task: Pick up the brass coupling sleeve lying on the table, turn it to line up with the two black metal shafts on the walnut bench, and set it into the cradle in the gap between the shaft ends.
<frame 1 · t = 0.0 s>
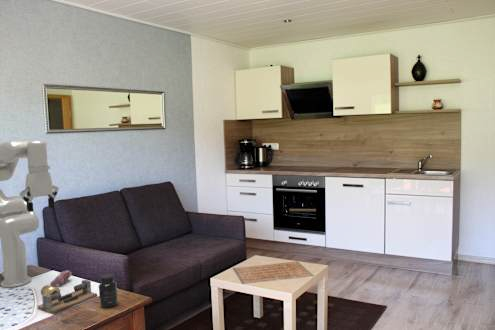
hand: (41, 209, 188), 37 cm above the table, tool pointing down, fingers open, 9 cm apart
coupling sleeve: (50, 298, 185), on the table
shaft bench: (68, 302, 180), on the table
dusty red lumpy block: (62, 284, 202), on the table
supplement bottle: (109, 305, 176), on the table
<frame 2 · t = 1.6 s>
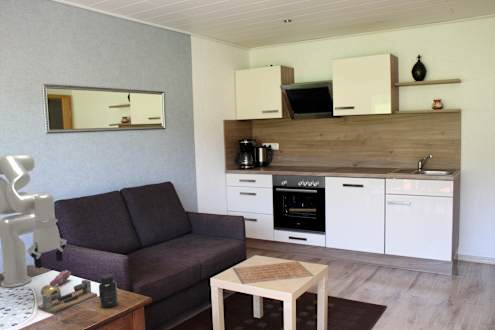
hand: (49, 264, 183), 15 cm above the table, tool pointing down, fingers open, 9 cm apart
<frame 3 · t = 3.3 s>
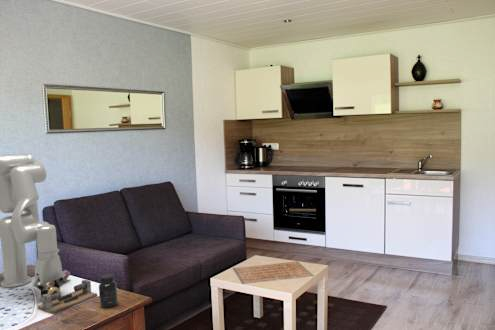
hand: (50, 296, 185), 1 cm above the table, tool pointing down, fingers closed on coupling sleeve, 5 cm apart
coupling sleeve: (50, 297, 185), on the table, touching gripper
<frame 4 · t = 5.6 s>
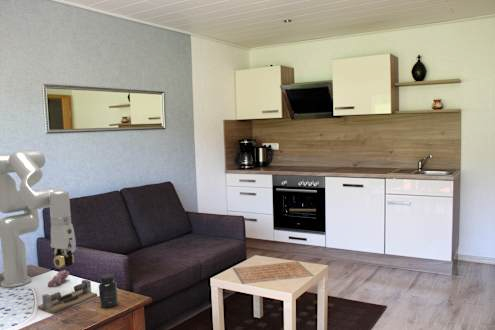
hand: (64, 264, 178), 16 cm above the table, tool pointing down, fingers closed on coupling sleeve, 5 cm apart
coupling sleeve: (64, 266, 179), point 15 cm above the table, touching gripper
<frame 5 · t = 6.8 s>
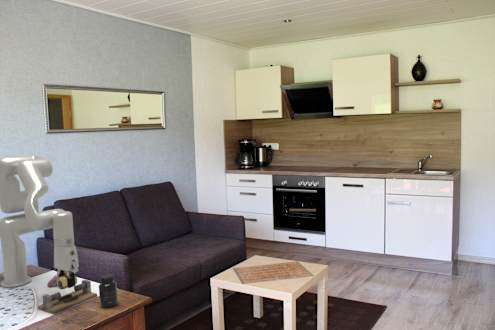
hand: (67, 285, 179), 7 cm above the table, tool pointing down, fingers closed on coupling sleeve, 5 cm apart
coupling sleeve: (67, 287, 179), point 7 cm above the table, touching gripper
when the fingers open (4 cm above the table, at t = 7.9 s): coupling sleeve stays where it is, resting on shaft bench.
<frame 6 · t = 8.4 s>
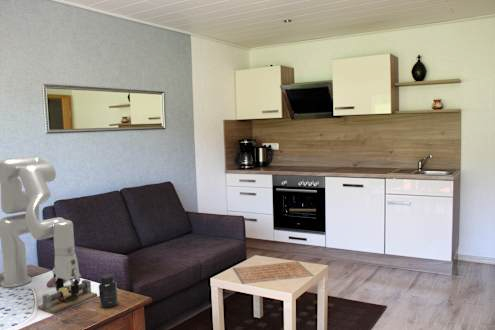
hand: (67, 291, 179), 4 cm above the table, tool pointing down, fingers open, 9 cm apart
coupling sleeve: (67, 297, 180), point 2 cm above the table, touching shaft bench
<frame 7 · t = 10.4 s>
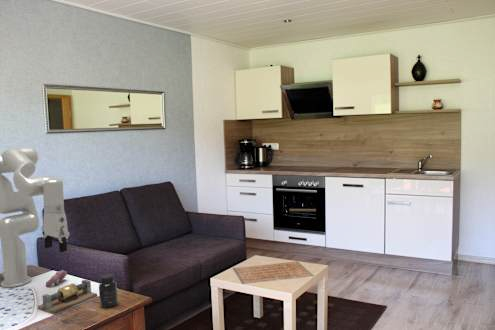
hand: (55, 249, 181), 21 cm above the table, tool pointing down, fingers open, 9 cm apart
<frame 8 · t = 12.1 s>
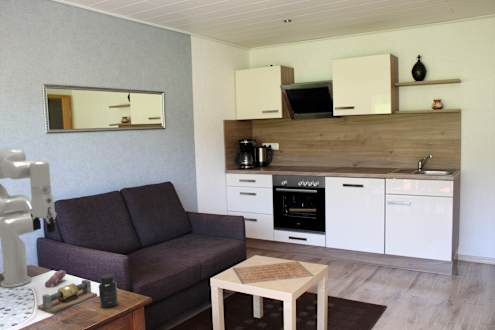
hand: (44, 230, 185), 28 cm above the table, tool pointing down, fingers open, 9 cm apart
at the end: coupling sleeve 0.2 cm off-centre on the shaft bench, point 2.0 cm above the shaft bench's base; coupling sleeve touching shaft bench; the gripper is holding nothing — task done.
